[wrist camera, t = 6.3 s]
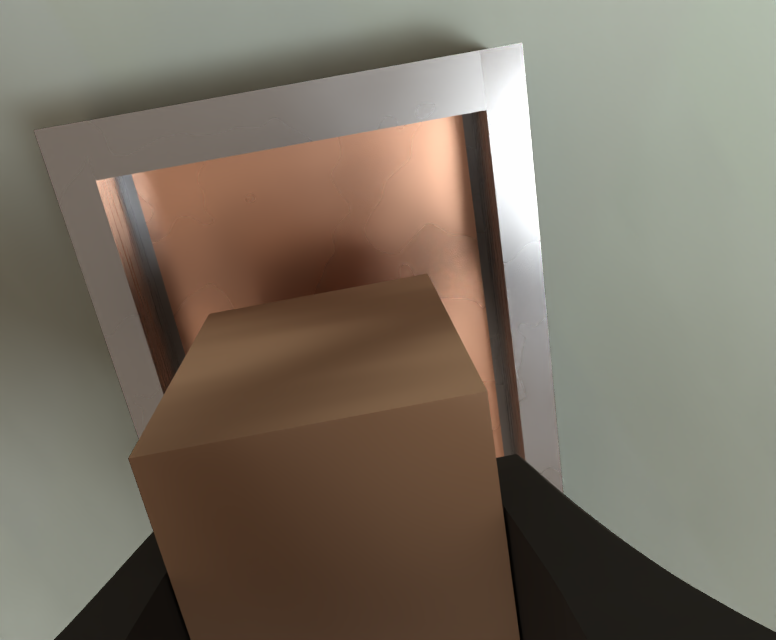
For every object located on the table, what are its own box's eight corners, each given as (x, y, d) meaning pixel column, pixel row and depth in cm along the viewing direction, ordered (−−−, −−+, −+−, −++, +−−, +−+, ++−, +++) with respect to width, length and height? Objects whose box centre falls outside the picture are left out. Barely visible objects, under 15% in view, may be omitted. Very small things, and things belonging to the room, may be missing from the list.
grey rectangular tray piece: (490, 49, 14) (597, 27, 8) (567, 779, 21) (652, 1027, 16) (85, 122, 14) (-89, 149, 8) (306, 830, 21) (297, 1099, 16)
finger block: (427, 273, 12) (486, 390, 7) (481, 621, 15) (549, 870, 10) (208, 313, 12) (128, 458, 7) (303, 656, 15) (288, 923, 10)
